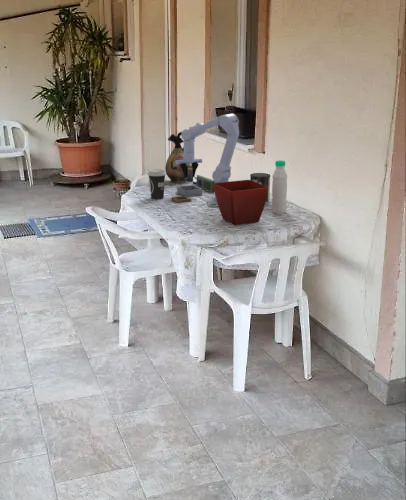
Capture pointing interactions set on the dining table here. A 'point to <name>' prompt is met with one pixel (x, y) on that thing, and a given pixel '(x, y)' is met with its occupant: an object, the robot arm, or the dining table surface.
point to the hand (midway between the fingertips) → (189, 176)
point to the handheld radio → (205, 183)
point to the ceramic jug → (177, 154)
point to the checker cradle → (181, 199)
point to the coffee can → (262, 181)
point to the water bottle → (279, 188)
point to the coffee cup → (157, 183)
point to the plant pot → (241, 201)
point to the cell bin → (189, 190)
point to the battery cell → (189, 174)
